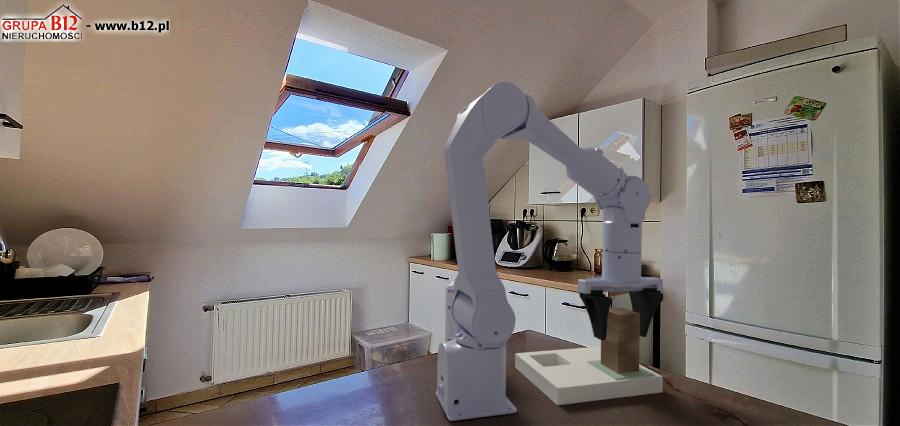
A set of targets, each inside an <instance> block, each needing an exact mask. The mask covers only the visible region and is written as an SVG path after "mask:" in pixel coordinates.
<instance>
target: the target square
mask: <svg viewBox="0 0 900 426" xmlns="http://www.w3.org/2000/svg"><path fill="white" fill-rule="evenodd" d="M587 363H589V364H591V365H592V366H594V367H595V368H597V369H599V370H600V371H602V372H604V373H605V374H607V375H609V376H610V377H612V378H613V379H615V380H620V379H629V378H638V377H647V376H655V374H653V373H651V372H649V371H647V370H645V369H643V368H641V367H640V366H639V371H636V372H628V373H619V374H617V373H616V372H614V371H612V370H610V369H609V368H607V367H605V366H603V365H602V364H601V360H596V361H587Z"/></svg>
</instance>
